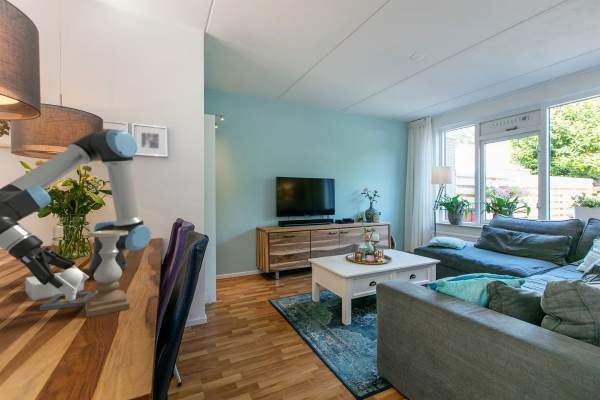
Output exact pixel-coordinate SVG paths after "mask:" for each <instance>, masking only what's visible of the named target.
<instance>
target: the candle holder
mask: <svg viewBox="0 0 600 400" xmlns="http://www.w3.org/2000/svg"><path fill="white" fill-rule="evenodd" d="M127 234H128V231H125V230H105V231H94V230H93V231H90V232H89V233H88V236H89V237H92V238H94V237H98V238H99V241H100V242H101V243H102V249H101V250H100V251H99V254H100V255H101V257H102V262H101V264H100V265H99V267H98V268H97V270H96V271H95V273H93V278H94V280H95V281H96V282H98V283H97V284H96V286H95V291H97V293H96V294H94V295H91V296H89V297H88V300H86V301H85V306H84V311H85V312H84V314H85V318H93V317H98V316H102V315H107V314H113V313H116V312H123V311H127V310H130V309H131V302H130V300H129V297H128V296H127V294H126V293H125V291H124V290H120V289H118V288H119V287H120V285H121V284H120V282H119V281H118V280H119V279H120V278H121V277H122V275H123V270H121V268H120V266H119V265H118V264H117V262H116V260H115V257H116V255H117V253H118V252H119V251H118V250H117V248H116V242H117V241H118V240H119V237H120V236H124V235H127Z"/></svg>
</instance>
